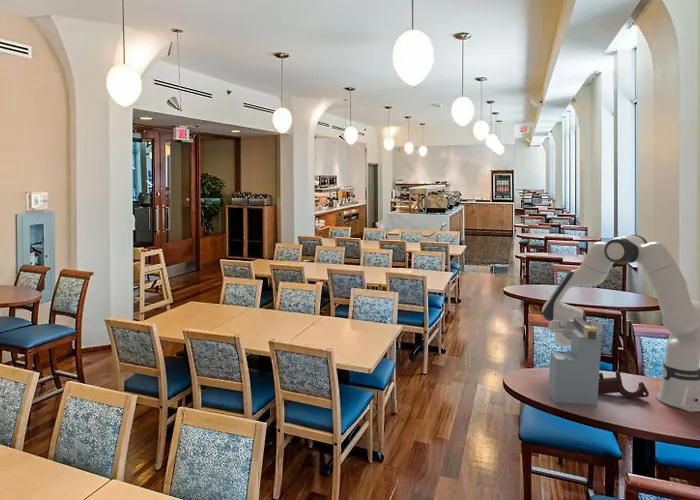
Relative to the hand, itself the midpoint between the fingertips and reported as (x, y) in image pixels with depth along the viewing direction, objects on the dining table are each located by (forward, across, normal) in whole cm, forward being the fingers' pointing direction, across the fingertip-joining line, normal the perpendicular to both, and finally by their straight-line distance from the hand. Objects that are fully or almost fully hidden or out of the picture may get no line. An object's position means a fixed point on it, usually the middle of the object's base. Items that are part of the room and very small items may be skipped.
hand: (579, 322), depth 206 cm
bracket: (-10, +16, +27) cm, 32 cm away
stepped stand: (-5, -4, +29) cm, 30 cm away
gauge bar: (+5, 0, +5) cm, 7 cm away
